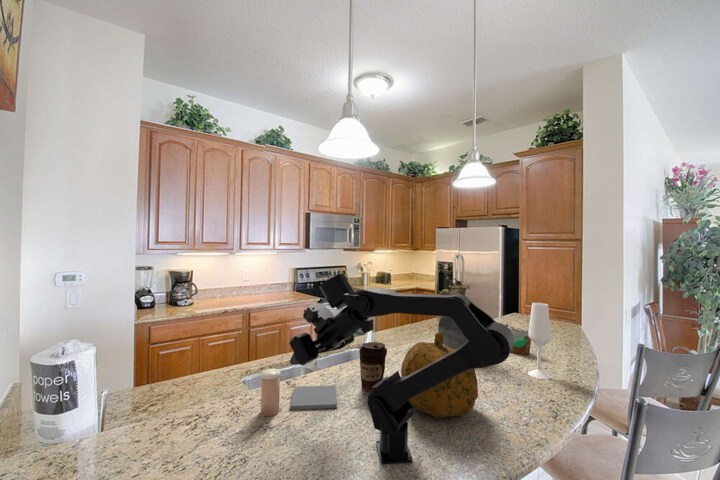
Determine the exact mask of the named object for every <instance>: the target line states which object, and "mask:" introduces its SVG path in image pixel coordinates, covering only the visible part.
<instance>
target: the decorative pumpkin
mask: <svg viewBox="0 0 720 480" xmlns="http://www.w3.org/2000/svg"><path fill="white" fill-rule="evenodd" d="M452 351H454V349H452V348H449V347H447V346H445V345H444V344H443V333H438V332H436V333H435V334H434V342H427V341H426V342H424V341H421V342H417V343H416V344H414V345H413V346H412V347H411V348H409V349H408V351H406V353H405V356H404V359H403V361H402V363H401V367H400V377H403V376H408V375H410V374H412V373H414V372H415V371H417V370H419V369H421V368H423V367H425V366H426V365H428V364H430V363H432V362H434V361H436V360H437V359H439V358H441V357H443V356H445V355H446V354H448V353H450V352H452ZM477 378H478V377H477V375H476V369H469V370H466V371H464V372H462V373H460V374H458V375H456V376H454V377H452V378H450V379H448V380H446V381H444V382H442V383H440V384H438V385H436V386H434V387H432V388H430V389H428V390H427V391H425V392H423V393H421V394H419V395H417V396H415V397H413V398H411V399H409V401H410V402H411V404H412V405H413V406H414V408H415V410H416V409H417V410H418V411H419V412H422V413H427V414H428V415H431V416H432V417H433V418H434V419H435V418H436V419H438V420H441V419H445V418H449V417H461V416H465V415H468V414H469V413H471V412H472V410H473V409H474V407H475V403H476V401H477V399H478V397H479V386H478V379H477Z"/></svg>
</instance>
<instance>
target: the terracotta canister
mask: <svg viewBox="0 0 720 480" xmlns="http://www.w3.org/2000/svg"><path fill="white" fill-rule="evenodd" d="M281 373H282V372H281V370H280V369H278V368H266V369H264V370H262V371H261V372H260V378H261V383H260V385H261V386H260V387H261V388H260V391H261V392H260V393H261V394H260V416H263V417H273V416H275V415H278V414H279V412H280V395H281V394H280V389H281V386H280V385H281V384H280V383H281V375H282V374H281Z"/></svg>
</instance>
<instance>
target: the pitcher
mask: <svg viewBox="0 0 720 480" xmlns="http://www.w3.org/2000/svg"><path fill="white" fill-rule="evenodd" d="M452 279H453V280H454V281H455V282H453V281H451V282H450V281H449V285H448V287H449V288H450V290H449V289H447V288H446V289H445V288H444V289H442V290H441V291H440V292H439V295H445V294H446V295H456V294H462V295H465V296H466V293H467V290H469V291H471V290H472V288H471V286H470V285H466V284H465V285H464V284H463V281H462V280H458V279H457V278H454V277H453V278H452ZM437 333H443V346H447V347H449V348H452V349H454V350H456V349H457V348H459V347H461V346H462V345H463V344H464V343H466V342H467V341H468V339H467V338H466V337H465V336H464V335H463V333H462V332H461V330H460V329H459V327H458V326H457V324H456V323H455V321H454V320H453V319H452V318H451V317H447V316H440V318H439V320H438V324H437Z"/></svg>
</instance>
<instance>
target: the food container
mask: <svg viewBox="0 0 720 480" xmlns="http://www.w3.org/2000/svg"><path fill="white" fill-rule="evenodd" d="M504 325H505V326H507V327H508V328H509V329H510V330H511V332H512V334H513V336H514V345H513V347H512V349H511V352H510V354H513V355H517V356H530V354H531V353H530V352H531V345H532V344H531V343H532V341H531V339H530V338H529V336H528V333H529V330H524V329H522V328H519V327H512V326H509V323H506V324H504Z"/></svg>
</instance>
